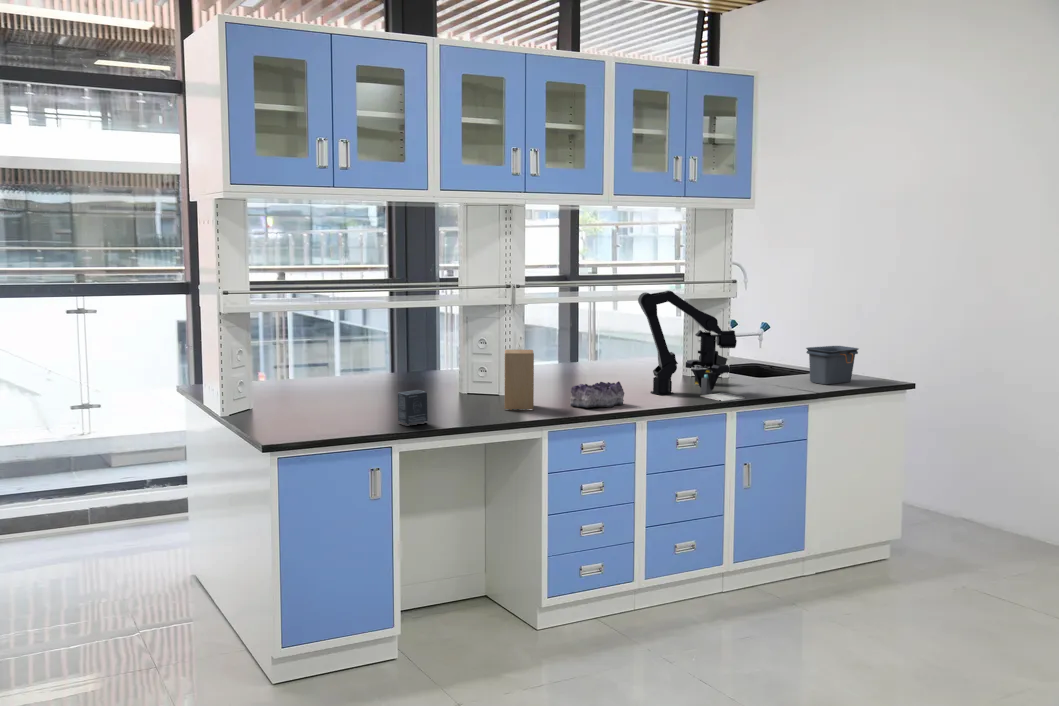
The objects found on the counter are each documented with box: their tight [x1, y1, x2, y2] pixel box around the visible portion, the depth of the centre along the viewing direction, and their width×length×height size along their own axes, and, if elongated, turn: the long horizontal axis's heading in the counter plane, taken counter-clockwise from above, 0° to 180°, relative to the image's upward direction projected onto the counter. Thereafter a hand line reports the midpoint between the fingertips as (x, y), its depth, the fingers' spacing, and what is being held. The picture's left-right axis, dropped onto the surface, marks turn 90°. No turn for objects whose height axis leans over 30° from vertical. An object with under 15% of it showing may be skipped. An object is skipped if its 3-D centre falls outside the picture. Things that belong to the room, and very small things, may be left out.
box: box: [397, 389, 429, 424], centre depth 311 cm, size 8×6×11 cm
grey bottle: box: [700, 374, 713, 395], centre depth 371 cm, size 3×3×7 cm
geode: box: [569, 381, 625, 409], centre depth 345 cm, size 20×12×10 cm, turn 118°
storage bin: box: [805, 345, 860, 385], centre depth 399 cm, size 21×16×14 cm
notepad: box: [700, 392, 745, 402], centre depth 363 cm, size 11×12×1 cm
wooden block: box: [504, 349, 535, 411], centre depth 339 cm, size 10×10×20 cm
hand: (706, 388), depth 372 cm, fingers open, 5 cm apart
